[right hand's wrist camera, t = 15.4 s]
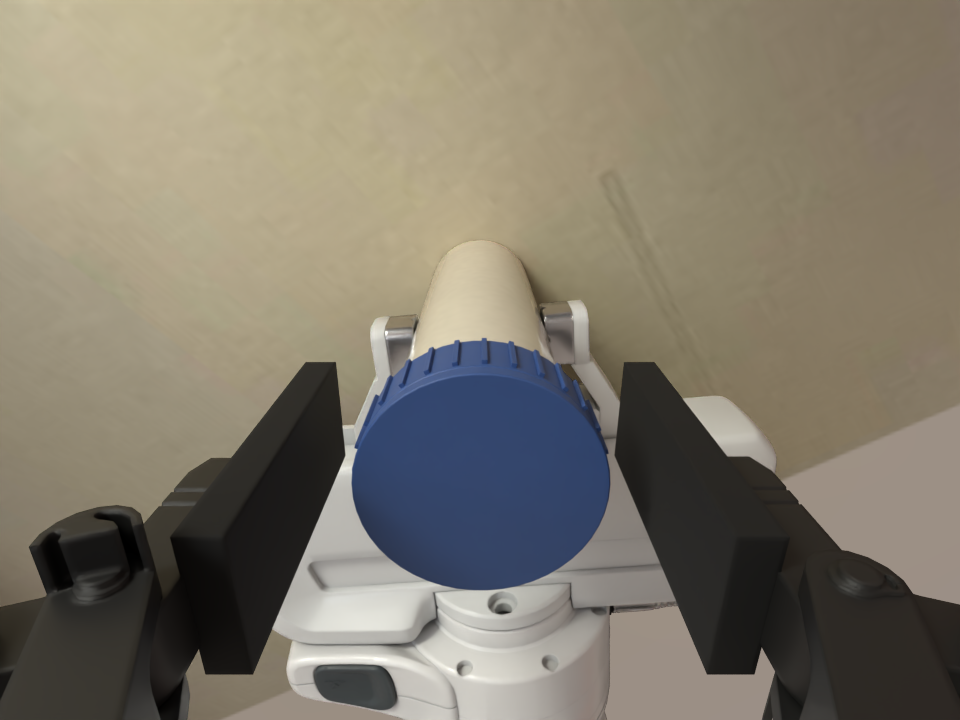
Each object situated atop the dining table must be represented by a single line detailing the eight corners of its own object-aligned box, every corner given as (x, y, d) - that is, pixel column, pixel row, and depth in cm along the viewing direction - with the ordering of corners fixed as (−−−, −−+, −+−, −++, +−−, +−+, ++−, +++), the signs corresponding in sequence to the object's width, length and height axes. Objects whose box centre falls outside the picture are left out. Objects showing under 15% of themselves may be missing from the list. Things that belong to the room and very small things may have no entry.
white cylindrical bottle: (422, 250, 25) (346, 402, 11) (519, 231, 24) (574, 362, 10) (443, 340, 26) (401, 577, 12) (535, 324, 26) (599, 546, 12)
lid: (336, 360, 12) (312, 396, 10) (582, 315, 11) (599, 346, 10) (396, 552, 14) (384, 609, 12) (608, 519, 13) (626, 574, 12)
